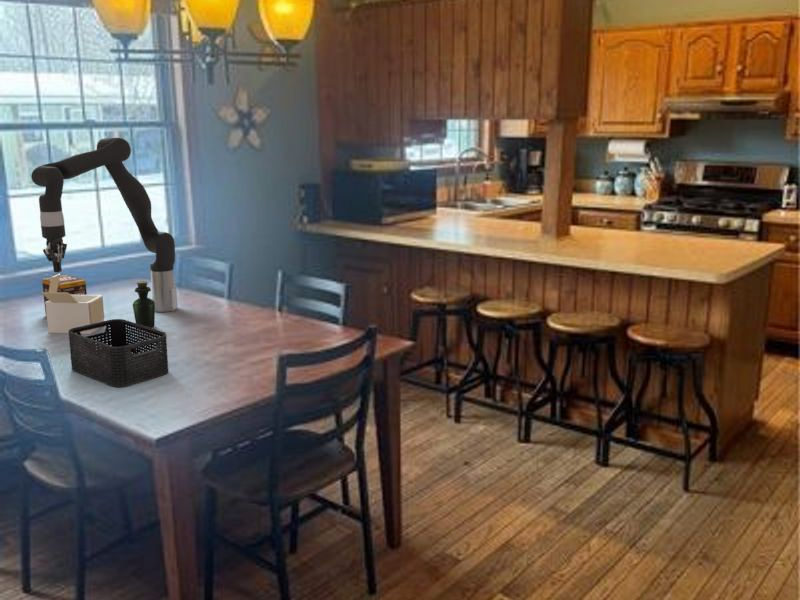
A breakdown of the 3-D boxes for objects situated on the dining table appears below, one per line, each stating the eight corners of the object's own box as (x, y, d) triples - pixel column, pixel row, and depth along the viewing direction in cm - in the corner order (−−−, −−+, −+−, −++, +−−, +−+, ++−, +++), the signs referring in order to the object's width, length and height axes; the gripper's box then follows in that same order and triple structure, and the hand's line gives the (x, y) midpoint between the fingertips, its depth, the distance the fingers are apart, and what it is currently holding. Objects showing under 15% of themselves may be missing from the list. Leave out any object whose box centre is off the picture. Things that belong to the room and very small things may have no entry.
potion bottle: (134, 331, 271) (131, 285, 267) (134, 325, 279) (130, 280, 274) (157, 329, 274) (154, 283, 270) (155, 323, 282) (152, 279, 277)
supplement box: (65, 322, 282) (61, 284, 278) (45, 316, 291) (41, 278, 287) (89, 317, 290) (86, 279, 286) (69, 311, 299) (66, 274, 295)
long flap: (67, 292, 256) (67, 293, 256) (78, 302, 264) (78, 303, 264) (41, 291, 256) (41, 292, 256) (52, 301, 264) (52, 302, 264)
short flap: (60, 273, 271) (59, 273, 271) (52, 277, 265) (51, 276, 265) (55, 295, 273) (54, 294, 273) (47, 298, 268) (46, 298, 268)
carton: (106, 324, 279) (103, 294, 277) (92, 333, 267) (89, 302, 264) (64, 323, 280) (61, 294, 277) (48, 332, 268) (45, 301, 265)
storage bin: (173, 373, 228) (170, 332, 225) (119, 390, 213) (115, 347, 210) (121, 355, 244) (118, 317, 241) (67, 370, 229) (63, 330, 226)
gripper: (53, 226, 245) (59, 276, 249) (72, 221, 258) (76, 268, 262) (32, 226, 245) (38, 275, 250) (51, 221, 258) (56, 268, 262)
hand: (57, 271), depth 256 cm, fingers closed
